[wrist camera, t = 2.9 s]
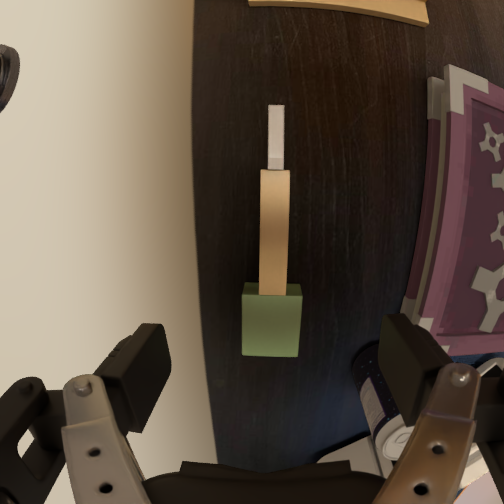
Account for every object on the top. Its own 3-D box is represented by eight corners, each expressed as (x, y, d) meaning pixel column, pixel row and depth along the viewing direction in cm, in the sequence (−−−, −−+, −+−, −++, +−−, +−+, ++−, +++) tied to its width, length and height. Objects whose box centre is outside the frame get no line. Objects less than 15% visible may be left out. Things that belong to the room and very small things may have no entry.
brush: (295, 340, 30) (300, 384, 23) (244, 339, 30) (237, 382, 23) (305, 122, 25) (315, 106, 18) (246, 121, 25) (236, 104, 18)
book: (423, 77, 23) (448, 64, 18) (533, 122, 22) (561, 120, 17) (391, 333, 29) (407, 359, 24) (499, 331, 28) (520, 350, 24)
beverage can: (379, 387, 31) (410, 466, 19) (340, 372, 31) (362, 458, 19) (409, 349, 29) (456, 422, 18) (370, 330, 29) (412, 409, 18)
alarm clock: (493, 345, 29) (544, 398, 17) (500, 387, 30) (540, 437, 19) (310, 453, 34) (315, 527, 23) (338, 480, 36) (347, 544, 24)
